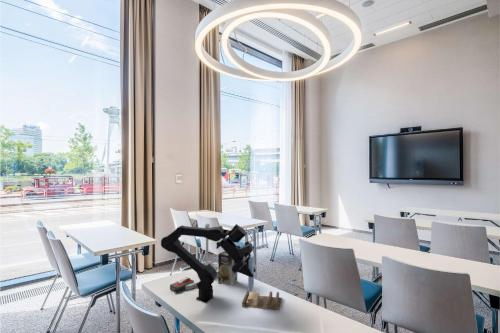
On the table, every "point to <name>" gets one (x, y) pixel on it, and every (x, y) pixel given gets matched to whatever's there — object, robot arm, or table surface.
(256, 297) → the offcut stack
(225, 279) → the coffee box
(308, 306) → the table surface
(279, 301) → the rack
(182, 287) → the walkie-talkie
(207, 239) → the flag stand
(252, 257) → the board
